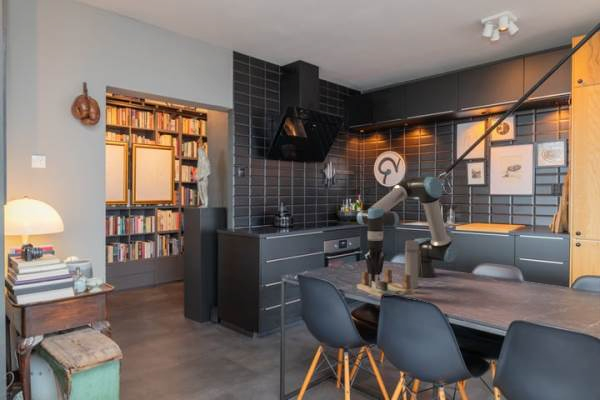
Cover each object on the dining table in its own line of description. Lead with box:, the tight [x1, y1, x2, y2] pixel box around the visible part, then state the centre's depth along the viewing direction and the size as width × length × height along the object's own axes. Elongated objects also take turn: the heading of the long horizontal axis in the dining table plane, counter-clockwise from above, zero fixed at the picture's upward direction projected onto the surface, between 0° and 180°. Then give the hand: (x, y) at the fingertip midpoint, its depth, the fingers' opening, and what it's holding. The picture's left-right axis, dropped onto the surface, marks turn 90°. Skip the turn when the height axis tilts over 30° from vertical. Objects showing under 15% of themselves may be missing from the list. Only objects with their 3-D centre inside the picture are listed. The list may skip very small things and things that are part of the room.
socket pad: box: [371, 287, 399, 293], centre depth 196 cm, size 10×10×1 cm
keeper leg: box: [369, 276, 388, 291], centre depth 198 cm, size 3×13×4 cm, turn 24°
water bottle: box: [404, 240, 423, 289], centre depth 210 cm, size 9×8×25 cm
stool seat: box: [356, 268, 416, 298], centre depth 203 cm, size 21×21×9 cm
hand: (374, 287), depth 191 cm, fingers closed
